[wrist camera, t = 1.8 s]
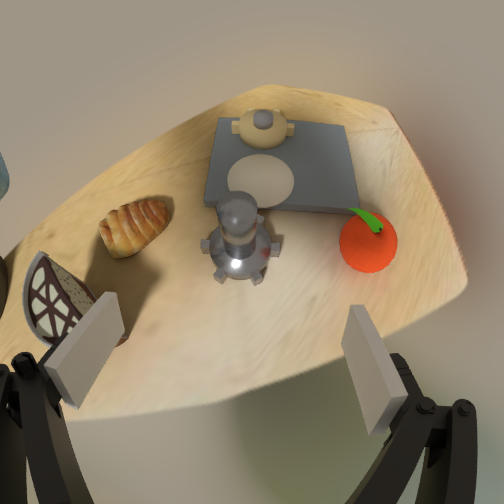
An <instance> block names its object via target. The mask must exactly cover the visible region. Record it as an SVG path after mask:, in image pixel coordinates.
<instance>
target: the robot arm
mask: <svg viewBox="0 0 504 504" xmlns="http://www.w3.org/2000/svg"><path fill="white" fill-rule="evenodd" d="M8 188H9V174H8V171H7V168H6V165H5V162H4V160H3V157H2V155H1V153H0V200H1V199H2V198H3V196H4V195H5V194H6V192H7V191H8ZM6 294H7V270H6V266H5V263H4V260H3V259H2V257H1V256H0V317H1V314H2V311H3V308H4V304H5V300H6ZM124 332H125V328H124V324H123V320H122V316H121V312H120V307H119V303H118V299H117V294H116V292H107V291H105V292H104V293H103V295H102V296H101V297H100V298H99V299H98V300H97V301H96V302H95V304H94V305H93V306H92V307H91V308H90V309H89V310H88V312H87V313H86V314H85V315H84V316H83V317H82V318H81V320H80V321H79V322H78V323H77V324H76V326H75V327H74V328H73V329H72V330H71V332H70V333H68V332H66V333H64V334H63V335H61V336H60V337H59V338H58V339H57V340H56V341H55V342H54V345H52V346H51V347H50V349H49V350H48V351H47V352H46V353H45V355H44V356H43V357H42V358H41V360H40V361H39V362H38V363H36V361H35V359H34V357H33V355H32V354H31V353H29V352H22V353H19V354H17V355H16V356H15V357H14V358H13V359H12V362H11V365H12V367H13V368H14V370H15V372H10V370H9V368H8V366H7V365H5V364H0V504H28V503H27V484H26V457H27V459H28V463H29V468H30V473H31V477H32V481H33V484H34V488H35V492H36V495H37V498H38V502H39V504H94V502H93V500H92V498H91V495H90V493H89V491H88V489H87V486H86V483H85V481H84V479H83V476H82V473H81V471H80V468H79V465H78V463H77V460H76V457H75V454H74V451H73V448H72V444H71V441H70V438H69V434H68V431H67V427H66V424H65V420H64V416H63V412H62V407H61V405H60V403H59V401H60V400H61V398H62V399H63V400H64V402H65V404H66V405H67V406H70V407H72V408H75V409H78V410H79V408H80V406H81V404H82V402H83V401H84V399H85V397H86V395H87V393H88V392H89V390H90V388H91V386H92V385H93V383H94V381H95V379H96V378H97V376H98V374H99V373H100V371H101V369H102V368H103V366H104V364H105V363H106V361H107V359H108V358H109V356H110V354H111V353H112V351H113V349H114V348H115V346H116V345H117V343H118V341H119V340H120V338H121V337H122V335H123V333H124ZM341 345H342V348H343V351H344V354H345V357H346V360H347V363H348V366H349V370H350V373H351V376H352V379H353V383H354V386H355V389H356V392H357V396H358V399H359V403H360V406H361V410H362V413H363V416H364V420H365V424H366V427H367V431H368V435H370V436H371V435H376V434H382V433H385V431H386V430H387V428H388V427H390V430H391V434H390V435H389V437H388V438H387V440H386V441H385V442H384V446H383V448H382V449H381V451H380V453H379V454H378V456H377V458H376V459H375V461H374V463H373V464H372V466H371V467H370V469H369V470H368V472H367V474H366V475H365V476H364V478H363V480H362V481H361V482H360V484H359V485H358V487H357V488H356V489H355V491H354V492H353V494H352V495H351V496H350V498H349V499H348V500H347V502H346V503H345V504H396V503H397V502H398V500H399V498H400V496H401V494H402V493H403V491H404V489H405V487H406V485H407V483H408V481H409V479H410V477H411V475H412V473H413V471H414V469H415V467H416V465H417V463H418V461H419V458H420V456H421V454H422V451H423V449H424V447H426V449H425V456H424V462H423V468H422V474H421V479H420V484H419V488H418V493H417V497H416V501H415V504H474V499H475V490H476V476H477V419H476V409H475V407H474V405H473V404H472V403H471V402H470V401H468V400H465V399H459V400H457V401H455V403H454V404H453V405H452V407H451V406H438V405H436V403H435V402H434V401H433V400H432V399H430V398H428V397H424V396H423V394H422V392H421V390H420V388H419V386H418V384H417V382H416V380H415V378H414V376H413V375H412V372H411V370H410V369H409V366H408V364H407V363H406V361H405V359H404V358H403V357H402V356H400V355H399V354H398V353H393V354H389V353H388V351H387V349H386V347H385V345H384V343H383V341H382V339H381V337H380V335H379V333H378V331H377V329H376V327H375V325H374V324H373V322H372V320H371V318H370V316H369V314H368V312H367V310H366V308H365V307H364V305H351V306H350V310H349V314H348V319H347V323H346V327H345V331H344V334H343V338H342V342H341ZM7 404H8V407H7Z"/></svg>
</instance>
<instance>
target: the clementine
mask: <svg viewBox="0 0 504 504" xmlns="http://www.w3.org/2000/svg"><path fill="white" fill-rule="evenodd" d="M346 210H352V211H354V212H355V213H357V214H358V215H356V216H354V217H352V218H351V219H350V220H349V221H348V222H347V223H346V224H345V225H344V227H343V229H342V232H341V235H340V241H339V243H340V250H341V253H342V256H343V258H344V259H345V261H346V262H347V263H348V264H349V265H350V266H351V267H352V268H354V269H356V270H357V271H361V272H365V273H374V272H377V271H380V270H382V269H384V268H385V267H386V266H388V265H389V263H390V262H391V261H392V259H393V258H394V256H395V254H396V251H397V235H396V232H395V230H394V228H393V226H392V225H391V223H390V222H389V221H388V220H387V219H386V218H384V217H383V216H381V215H379V214H375V213H370V212H367V211H364V210H362V209H358V208H349V209H346Z"/></svg>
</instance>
